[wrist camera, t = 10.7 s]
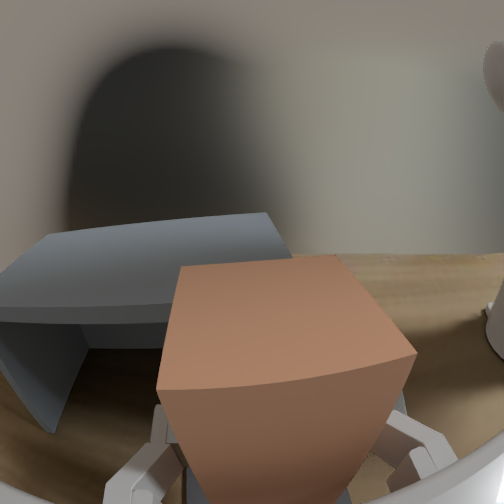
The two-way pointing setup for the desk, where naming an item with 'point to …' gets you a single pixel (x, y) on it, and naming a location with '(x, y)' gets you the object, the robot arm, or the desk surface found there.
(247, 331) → the block
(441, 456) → the robot arm
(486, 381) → the desk surface
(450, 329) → the desk surface
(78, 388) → the desk surface
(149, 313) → the cubby
